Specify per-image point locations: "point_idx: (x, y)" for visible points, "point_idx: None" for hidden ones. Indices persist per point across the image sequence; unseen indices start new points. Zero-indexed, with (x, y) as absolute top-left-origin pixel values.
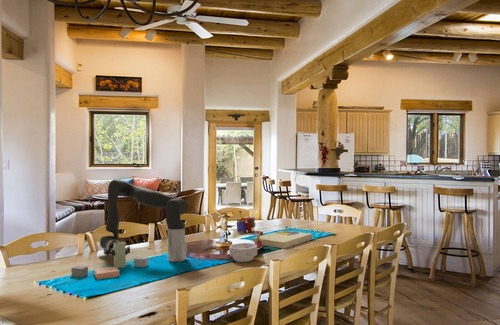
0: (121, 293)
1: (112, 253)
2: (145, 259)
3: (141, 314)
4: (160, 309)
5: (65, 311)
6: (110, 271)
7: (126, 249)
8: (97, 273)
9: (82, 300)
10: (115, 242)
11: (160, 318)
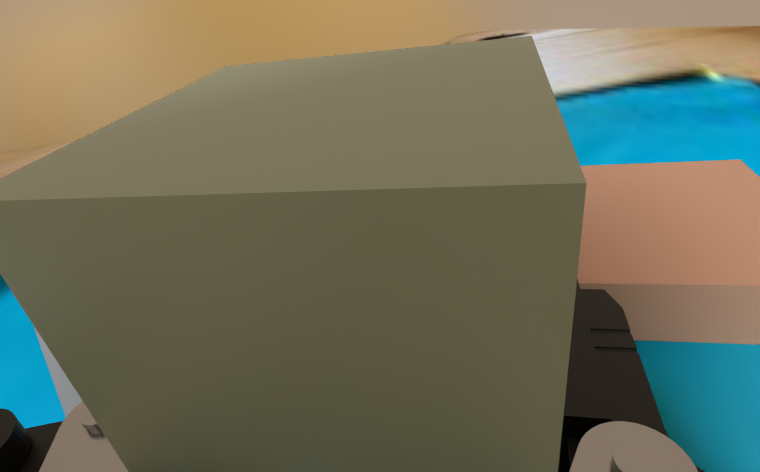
0: (549, 83)
1: (599, 308)
2: None
3: (517, 36)
4: None
5: (752, 40)
6: (606, 173)
7: None
8: (737, 164)
9: (716, 67)
10: (447, 158)
11: (483, 32)
